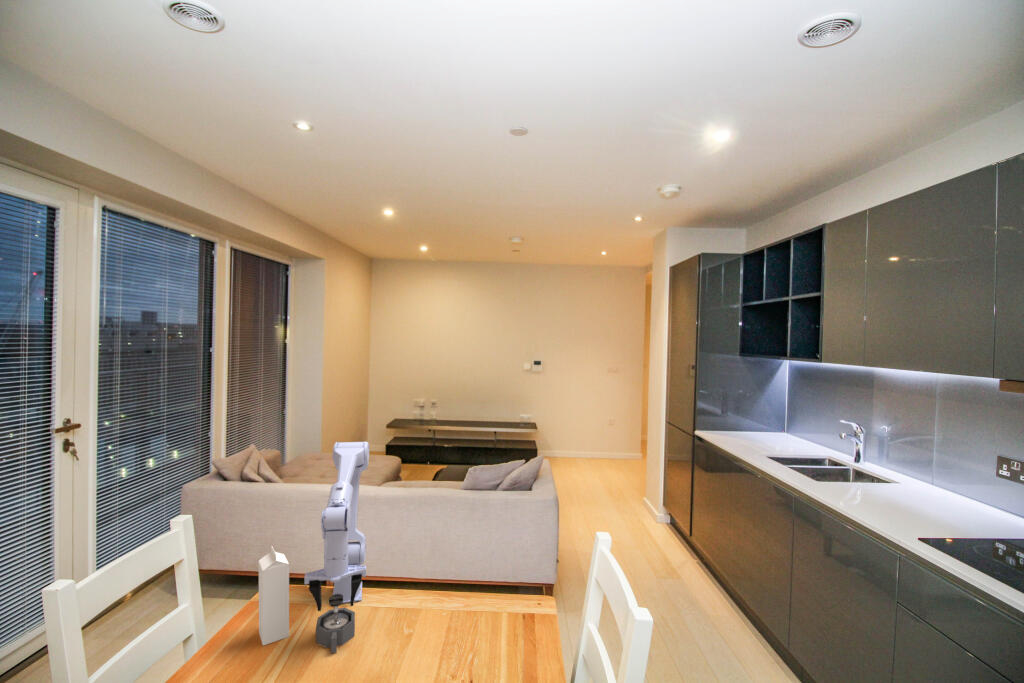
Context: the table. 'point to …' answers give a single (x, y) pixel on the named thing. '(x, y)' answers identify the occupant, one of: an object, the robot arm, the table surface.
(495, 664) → the table surface
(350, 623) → the grey jug
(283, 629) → the milk
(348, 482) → the robot arm
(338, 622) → the plunger
